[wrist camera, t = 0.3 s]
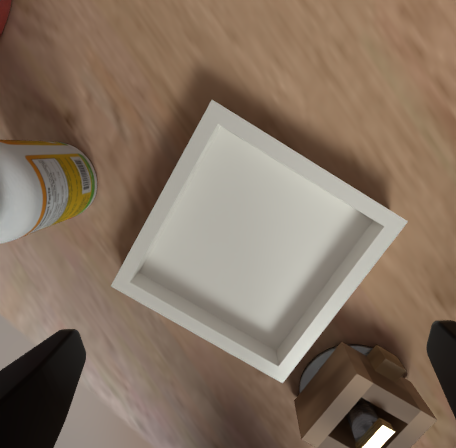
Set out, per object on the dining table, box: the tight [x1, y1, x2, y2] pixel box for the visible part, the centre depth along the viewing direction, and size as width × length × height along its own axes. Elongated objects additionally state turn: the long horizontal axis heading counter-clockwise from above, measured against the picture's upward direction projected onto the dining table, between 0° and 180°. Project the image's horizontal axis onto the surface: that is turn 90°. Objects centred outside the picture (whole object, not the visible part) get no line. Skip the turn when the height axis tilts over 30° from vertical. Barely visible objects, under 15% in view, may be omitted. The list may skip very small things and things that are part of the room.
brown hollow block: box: [294, 342, 437, 448], centre depth 23 cm, size 8×6×4 cm
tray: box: [111, 100, 408, 383], centre depth 22 cm, size 14×14×2 cm
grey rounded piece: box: [299, 344, 402, 448], centre depth 23 cm, size 8×8×5 cm
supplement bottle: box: [0, 140, 97, 243], centre depth 18 cm, size 5×5×10 cm
